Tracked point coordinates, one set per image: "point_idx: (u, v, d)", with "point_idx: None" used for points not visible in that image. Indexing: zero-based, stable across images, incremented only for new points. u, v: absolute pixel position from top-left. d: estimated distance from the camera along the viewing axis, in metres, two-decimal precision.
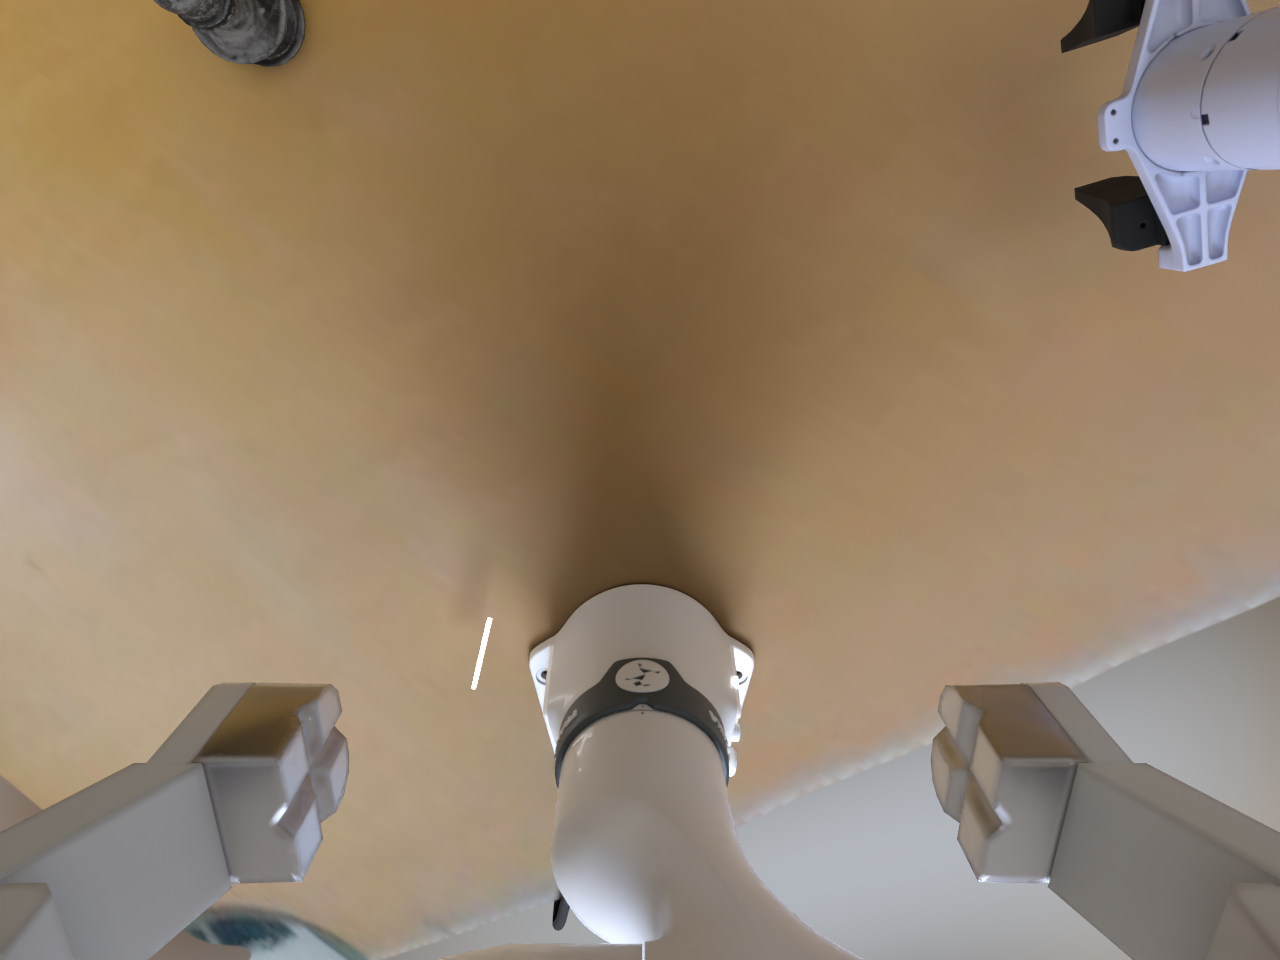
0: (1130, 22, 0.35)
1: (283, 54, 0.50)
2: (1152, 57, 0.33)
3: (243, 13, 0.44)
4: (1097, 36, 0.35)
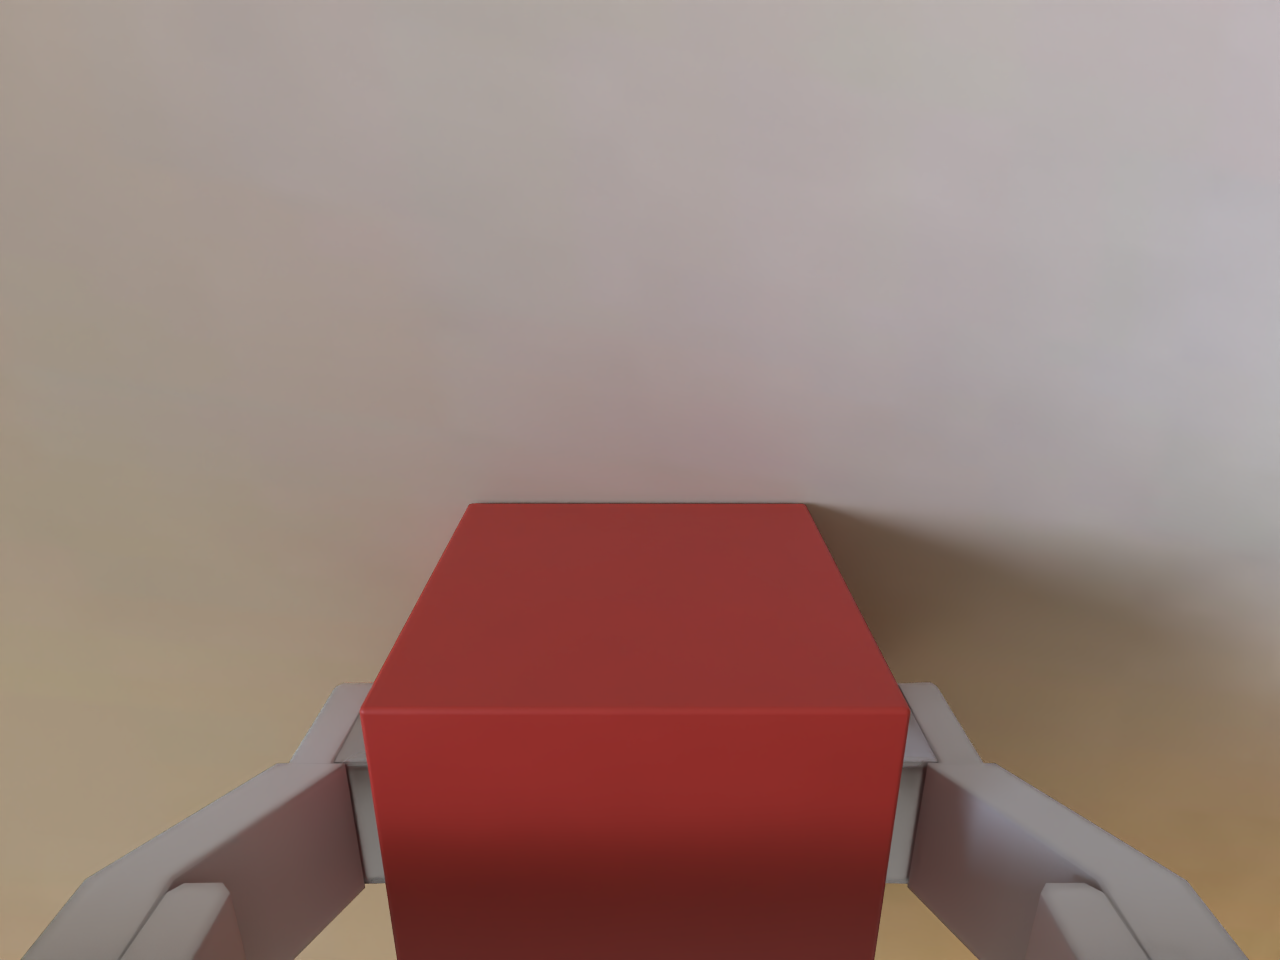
0: None
1: None
2: None
3: None
4: None
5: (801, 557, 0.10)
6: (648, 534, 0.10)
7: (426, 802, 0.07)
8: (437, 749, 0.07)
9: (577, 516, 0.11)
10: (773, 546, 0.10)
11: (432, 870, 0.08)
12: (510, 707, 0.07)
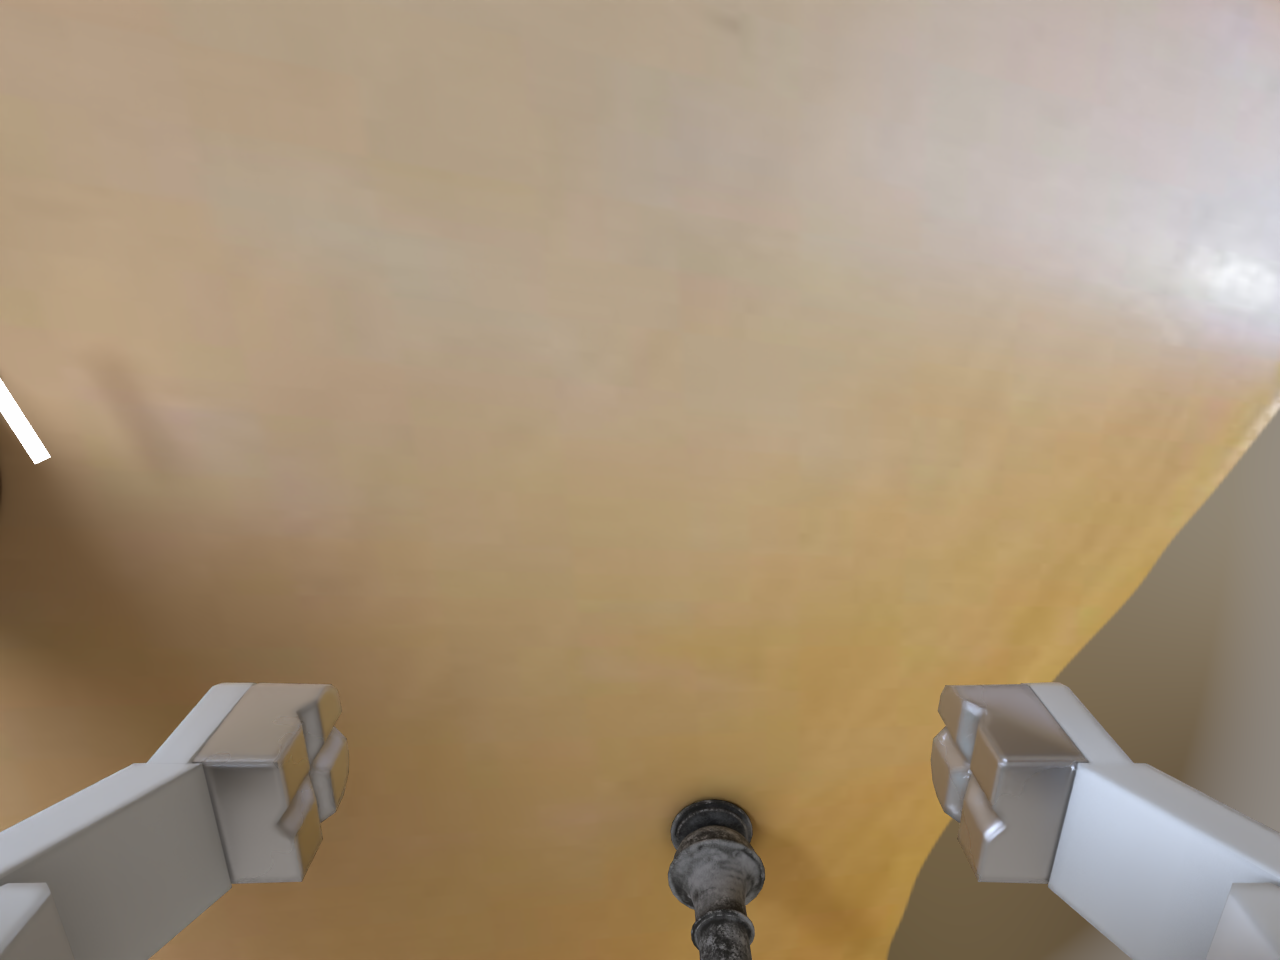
0: None
1: (680, 823, 0.50)
2: None
3: (694, 907, 0.46)
4: None
5: None
6: None
7: None
8: None
9: None
10: None
11: None
12: None
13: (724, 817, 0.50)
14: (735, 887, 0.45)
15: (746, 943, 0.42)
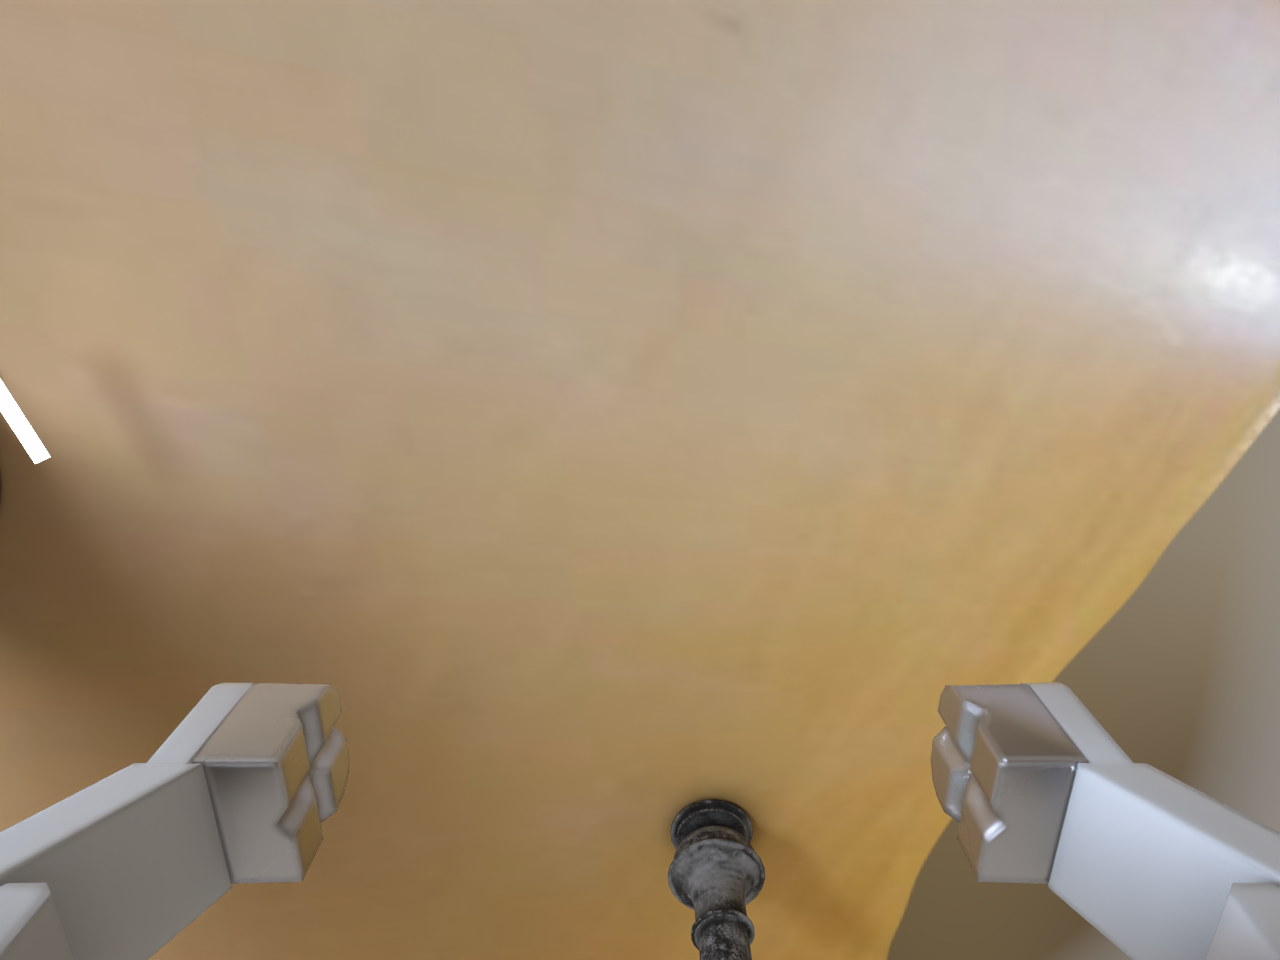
0: None
1: (680, 823, 0.50)
2: None
3: (694, 907, 0.46)
4: None
5: None
6: None
7: None
8: None
9: None
10: None
11: None
12: None
13: (724, 817, 0.50)
14: (735, 887, 0.45)
15: (746, 943, 0.42)
